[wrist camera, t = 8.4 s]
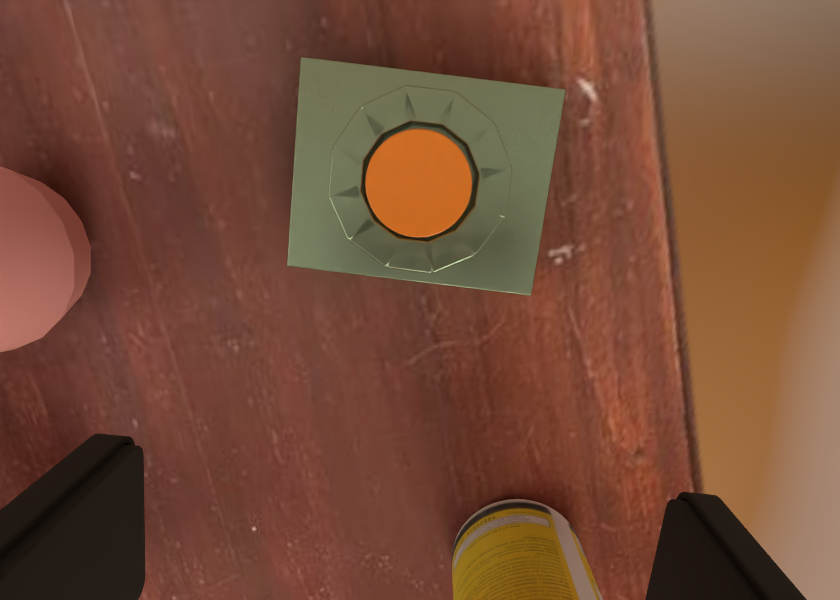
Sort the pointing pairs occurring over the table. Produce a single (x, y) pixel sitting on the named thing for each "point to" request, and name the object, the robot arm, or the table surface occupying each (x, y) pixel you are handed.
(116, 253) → the table surface
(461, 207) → the button
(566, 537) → the pill bottle
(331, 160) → the control block
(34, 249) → the pink vase
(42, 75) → the table surface
